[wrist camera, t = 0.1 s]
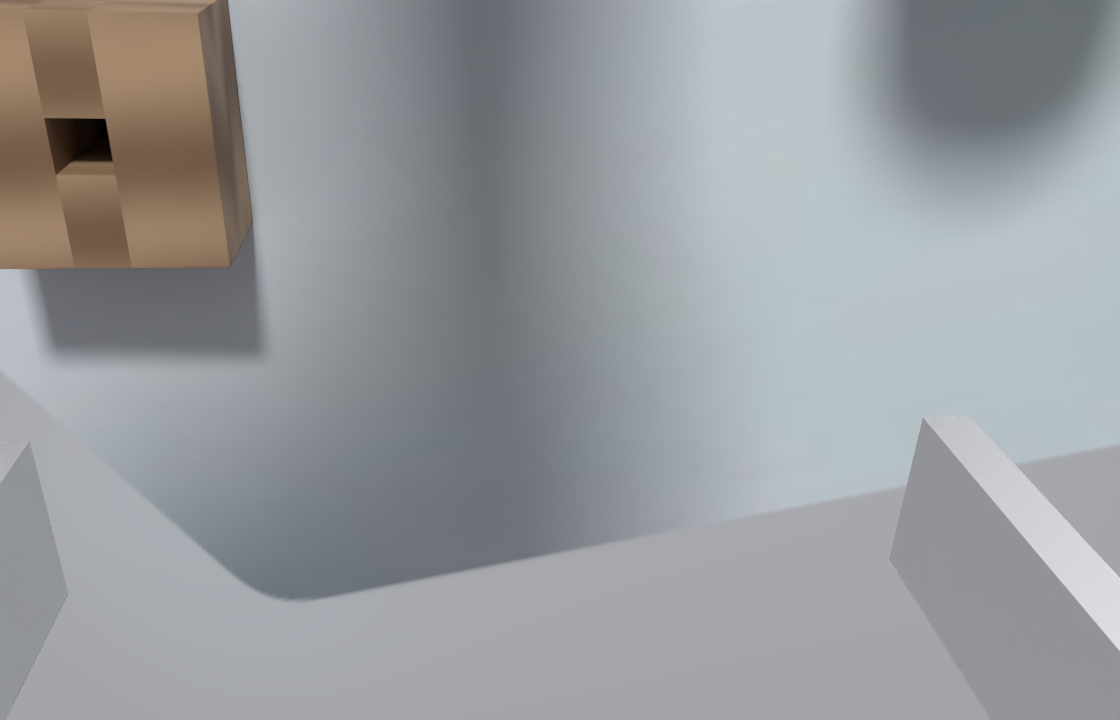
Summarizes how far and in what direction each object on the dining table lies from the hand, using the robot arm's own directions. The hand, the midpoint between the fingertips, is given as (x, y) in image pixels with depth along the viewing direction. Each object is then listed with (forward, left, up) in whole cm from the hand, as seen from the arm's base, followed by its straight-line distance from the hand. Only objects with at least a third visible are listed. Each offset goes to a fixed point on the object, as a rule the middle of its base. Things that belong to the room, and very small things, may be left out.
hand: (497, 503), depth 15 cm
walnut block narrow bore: (+1, -13, -28) cm, 31 cm away
